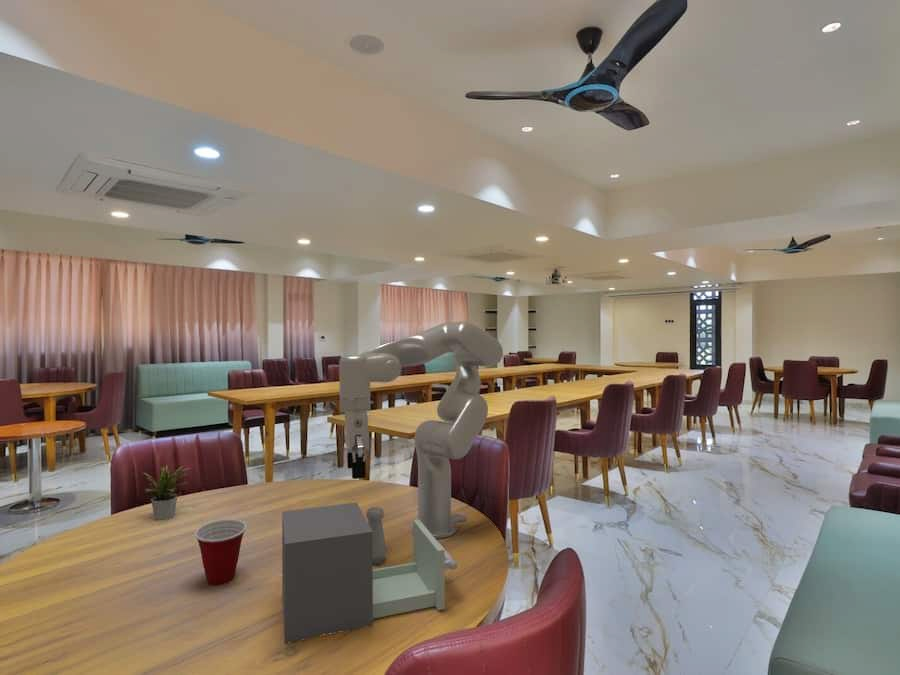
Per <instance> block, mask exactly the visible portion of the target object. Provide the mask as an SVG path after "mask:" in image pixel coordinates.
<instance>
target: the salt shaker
mask: <svg viewBox="0 0 900 675" xmlns="http://www.w3.org/2000/svg"><path fill="white" fill-rule="evenodd" d="M365 512H366V514H365V515H366V517H365V518H366V520H368V521H367V522H368V524H369V526H370V528H371V530H372V532H373V566H377V565H379V564H382V563H383V561H384V560H385V558H386V555H387V546H386V540H385V533H384V527H383V521H382V519H383V518H384V515H385V514H384V512H385V511H384V509H383V508H381V507H380V506H373V507H369V508H368V509H367V510H366V511H365Z"/></svg>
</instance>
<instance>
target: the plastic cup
mask: <svg viewBox="0 0 900 675" xmlns="http://www.w3.org/2000/svg"><path fill="white" fill-rule="evenodd" d="M247 526H248V525H247V524H246V523H245V521H243V520H240V519H234V518H233V519H232V518H226V519H218V520H213V521H210V522H208V523H205V524H202V525H201V526H198V528H196V530H195V532H194V537H195V538H196V540H197V542H198V545H199V549H200V554H201V556H200V557H201V561H202V566H203V570H204V575H205V580H206V583H207V584H208V585H210V586H222V585H225V584H228V583H230V582H232V581H233V580H234V579H235V576H236V573H237V566H238V562H239V558H240V550H241V545H242V540H243V537H244V533H245V532H246V529H247Z"/></svg>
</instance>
